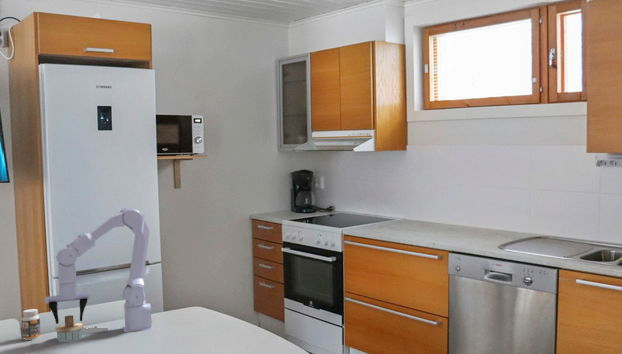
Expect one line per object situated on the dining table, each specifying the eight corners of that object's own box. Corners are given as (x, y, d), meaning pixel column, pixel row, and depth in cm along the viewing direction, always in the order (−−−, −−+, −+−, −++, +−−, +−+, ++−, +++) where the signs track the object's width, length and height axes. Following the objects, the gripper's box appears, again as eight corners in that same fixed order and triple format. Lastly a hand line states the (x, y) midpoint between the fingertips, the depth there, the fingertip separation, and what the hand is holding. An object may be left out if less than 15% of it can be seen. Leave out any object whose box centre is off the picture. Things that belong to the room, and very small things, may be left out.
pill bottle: (33, 341, 209) (32, 312, 209) (19, 340, 210) (17, 312, 210) (44, 336, 214) (42, 308, 214) (29, 335, 216) (28, 308, 215)
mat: (107, 326, 225) (107, 325, 225) (108, 332, 216) (108, 331, 216) (79, 329, 222) (79, 328, 222) (78, 336, 212) (78, 335, 212)
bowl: (82, 335, 214) (82, 324, 214) (81, 341, 206) (81, 330, 206) (58, 338, 211) (57, 327, 211) (56, 344, 204) (56, 333, 204)
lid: (84, 324, 214) (83, 312, 214) (82, 330, 206) (82, 317, 206) (56, 326, 212) (56, 314, 212) (54, 333, 203) (53, 320, 203)
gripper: (90, 278, 215) (91, 316, 215) (45, 282, 210) (47, 321, 210) (89, 282, 208) (91, 321, 208) (43, 286, 203) (45, 326, 203)
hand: (69, 321), depth 209 cm, fingers open, 7 cm apart
